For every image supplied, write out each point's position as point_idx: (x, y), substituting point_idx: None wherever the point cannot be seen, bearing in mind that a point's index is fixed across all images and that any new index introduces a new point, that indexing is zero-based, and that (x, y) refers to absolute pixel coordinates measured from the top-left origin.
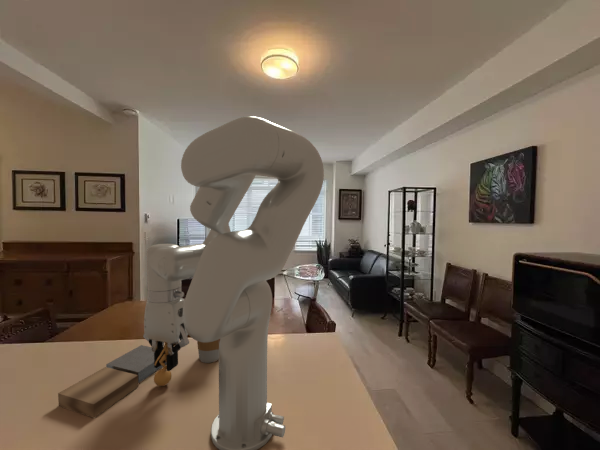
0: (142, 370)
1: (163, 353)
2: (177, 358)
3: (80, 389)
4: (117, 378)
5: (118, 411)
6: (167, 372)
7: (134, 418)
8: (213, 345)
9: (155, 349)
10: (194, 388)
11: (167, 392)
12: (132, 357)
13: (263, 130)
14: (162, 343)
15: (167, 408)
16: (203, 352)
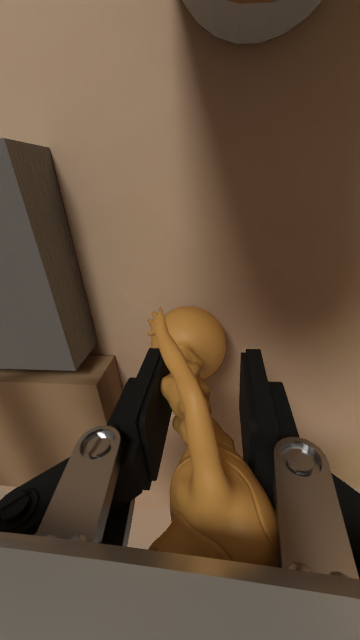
0: (72, 350)
1: (154, 411)
2: (289, 409)
3: (25, 468)
4: (53, 416)
5: (170, 439)
6: (213, 358)
7: (235, 447)
8: None
9: (133, 507)
10: (344, 296)
11: (242, 349)
12: None
13: None
14: (116, 480)
15: (303, 405)
16: (274, 8)
